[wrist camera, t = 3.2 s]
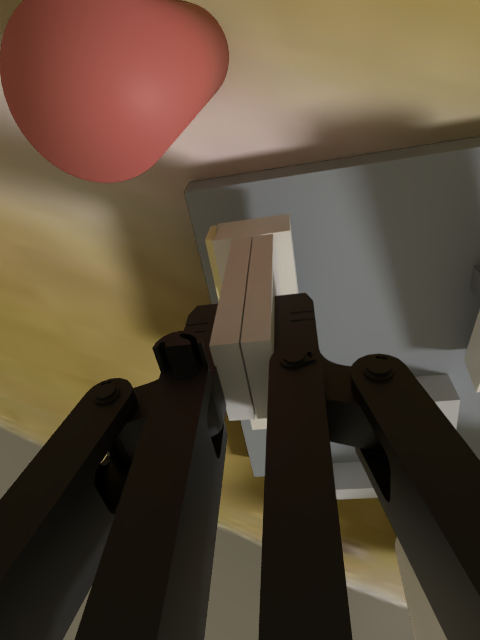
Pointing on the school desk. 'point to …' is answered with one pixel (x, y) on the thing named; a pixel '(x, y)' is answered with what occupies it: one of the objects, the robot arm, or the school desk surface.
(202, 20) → the red capsule
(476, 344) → the block
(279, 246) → the block
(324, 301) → the panel
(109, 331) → the school desk surface
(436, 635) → the cable organizer
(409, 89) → the school desk surface
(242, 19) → the school desk surface
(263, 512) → the robot arm
